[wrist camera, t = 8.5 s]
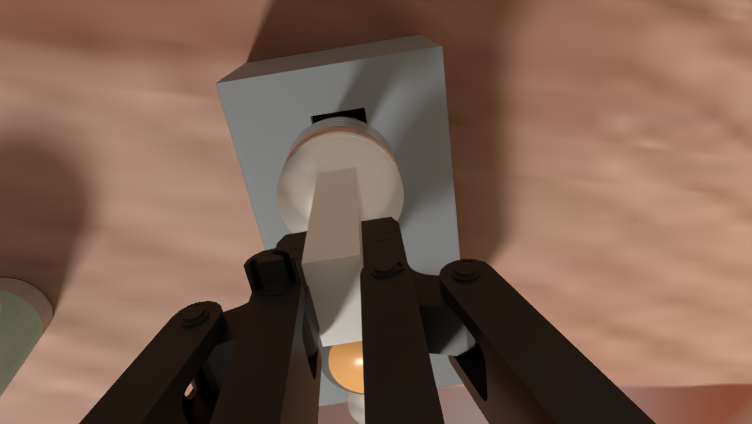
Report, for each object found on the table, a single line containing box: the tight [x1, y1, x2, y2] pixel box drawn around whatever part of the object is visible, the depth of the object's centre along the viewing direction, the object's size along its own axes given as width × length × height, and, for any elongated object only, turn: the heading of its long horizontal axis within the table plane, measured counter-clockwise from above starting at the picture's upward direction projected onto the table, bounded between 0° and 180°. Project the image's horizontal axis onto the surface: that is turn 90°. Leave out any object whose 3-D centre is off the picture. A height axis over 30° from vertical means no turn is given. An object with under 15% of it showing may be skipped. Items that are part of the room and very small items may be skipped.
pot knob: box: [319, 334, 364, 395], centre depth 26 cm, size 5×5×12 cm
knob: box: [276, 110, 404, 233], centre depth 23 cm, size 5×5×12 cm
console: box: [216, 34, 463, 406], centre depth 33 cm, size 24×12×8 cm, turn 9°
